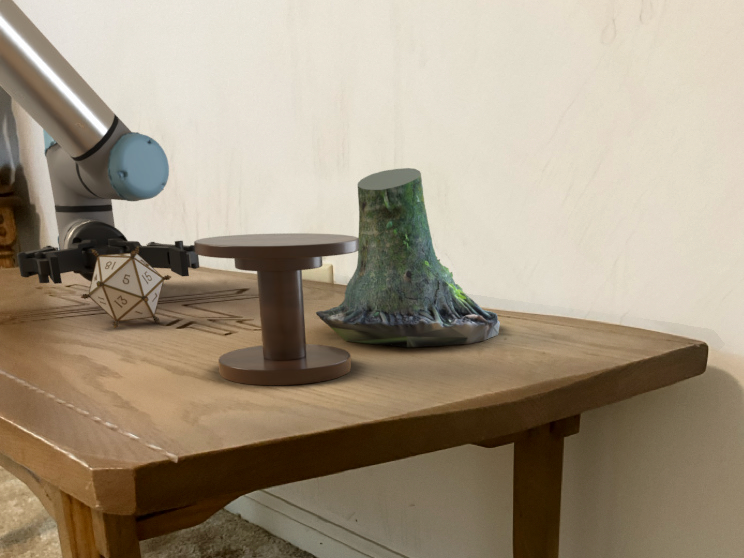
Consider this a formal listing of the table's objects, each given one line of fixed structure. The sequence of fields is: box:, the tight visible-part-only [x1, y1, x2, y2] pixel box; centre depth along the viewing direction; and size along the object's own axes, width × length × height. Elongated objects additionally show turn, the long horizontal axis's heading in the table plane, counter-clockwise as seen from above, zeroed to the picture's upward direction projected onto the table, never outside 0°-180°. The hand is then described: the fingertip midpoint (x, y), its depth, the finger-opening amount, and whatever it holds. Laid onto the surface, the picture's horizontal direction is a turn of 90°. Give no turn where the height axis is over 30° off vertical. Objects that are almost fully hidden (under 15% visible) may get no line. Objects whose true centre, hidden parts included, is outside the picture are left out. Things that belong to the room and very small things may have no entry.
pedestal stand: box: [193, 232, 359, 386], centre depth 70 cm, size 13×13×10 cm
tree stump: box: [315, 167, 501, 348], centre depth 83 cm, size 18×20×18 cm
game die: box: [80, 247, 172, 330], centre depth 92 cm, size 9×8×10 cm
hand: (122, 267), depth 93 cm, fingers open, 13 cm apart
